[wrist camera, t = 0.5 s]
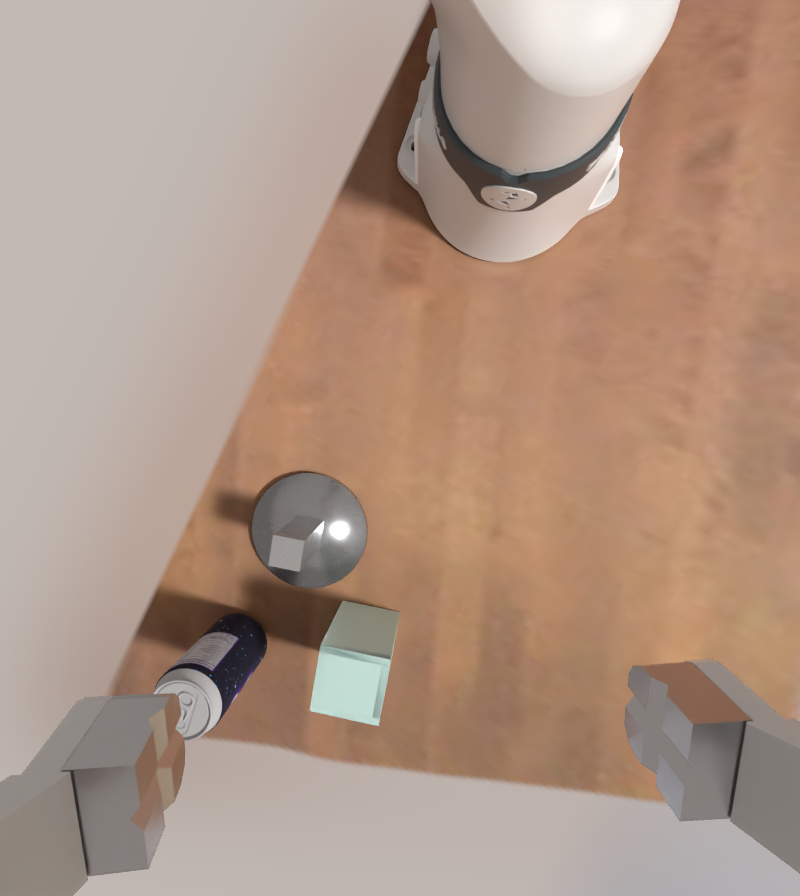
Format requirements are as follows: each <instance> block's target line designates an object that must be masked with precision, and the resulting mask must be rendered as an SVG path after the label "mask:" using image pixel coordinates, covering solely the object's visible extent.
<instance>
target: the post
mask: <svg viewBox="0 0 800 896" xmlns="http://www.w3.org/2000/svg"><path fill="white" fill-rule="evenodd" d="M252 536H253V542H254V545H255V548H256V551H257V553H258V555H259V557H260V559H261V560H262V562H263V563H264V565H265V566H266V567H267V568H268V569H269V570H270V571H271V572H272V573H273V574H274V575H275V576H277V577H278V578H280V579H281V580H283V581H285V582H287V583H289V584H292V585H295V586H299V587H305V588H318V587H324V586H328V585H331V584H333V583H336V582H337V581H339V580H341V579H343V578H344V577H345V576H347V575H348V574H349V573H350V572H351V571H352V570H353V569H354V567H355V566H356V565H357V563H358V562H359V560H360V558H361V556H362V554H363V552H364V549H365V546H366V542H367V522H366V517H365V514H364V511H363V508H362V506H361V504H360V502H359V501H358V499H357V498H356V496H355V495H354V494H353V493H352V492H351V491H350V490H349V489H348V488H347V487H346V486H345V485H344V484H342V483H341V482H339V481H337V480H336V479H334V478H332V477H329V476H327V475H323V474H319V473H299V474H294V475H291V476H288V477H286V478H284V479H281V480H280V481H278V482H276V483H275V484H274V485H272V486H271V487H270V488H269V489H268V490H267V491H266V492H265V493H264V494H263V496H262V497H261V499H260V500H259V502H258V504H257V506H256V509H255V512H254V515H253V520H252Z"/></svg>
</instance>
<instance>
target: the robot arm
mask: <svg viewBox="0 0 800 896" xmlns="http://www.w3.org/2000/svg"><path fill="white" fill-rule="evenodd" d="M430 1H431V3H432V5H433V7H434V10H435V14H436V21H437V28H435V29H434V30H433V32H432V35H431V38H430V42H429V46H428V52H427V63H429V65H430V68H429V70H428V73H427V76H426V79H425V80H423V81H422V83H421V86H420V89H419V95H418V101H417V104H416V106H415V109H414V112H413V115H412V118H411V120H410V123H409V126H408V129H407V131H406V134H405V137H404V140H403V142H402V145H401V148H400V151H399V154H398V159H397V167H398V170H399V172H400V174H401V175H402V177H403V178H404V179H405V180H406V181H407V182H408V183H409V184H410V185H411V186H412V187H413V188H414V189H415V190H416V191H417V192H418V193H419V194H420V196H421V198H422V200H423V202H424V204H425V206H426V209H427V211H428V214H429V216H430V218H431V220H432V222H433V223H434V225H435V226H436V228H437V229H438V231H439V232H440V233H441V234H442V236H443V237H444V238H445V239H446V240H447V241H448V242H450V243H451V244H452V245H453V246H454V247H456V248H457V249H459V250H460V251H462V252H464V253H466V254H468V255H470V256H472V257H475V258H478V259H481V260H485V261H491V262H513V261H519V260H523V259H527V258H530V257H533V256H535V255H538V254H540V253H542V252H544V251H545V250H547V249H549V248H550V247H552V246H553V245H554V244H556V243H557V242H558V241H559V240H561V239H562V238H563V237H564V236H565V235H566V234H567V233H568V232H569V230H570V229H571V228H572V227H573V226H574V225H575V224H576V223H577V222H578V221H579V220H581V219H582V218H583V217H585V216H587V215H590V214H592V213H594V212H596V211H598V210H600V209H602V208H604V207H606V206H607V205H609V204H610V203H611V202H612V201H613V199H614V198H615V196H616V194H617V192H618V188H619V160H620V158H621V155H622V152H623V148H622V147H621V146H620V145H619V144H620V128H621V126H622V124H623V121H624V119H625V116H626V113H627V111H628V108H629V105H630V102H631V99H632V96H633V92H634V90H635V88H636V87H637V85H638V83H639V82H640V80H641V78H642V77H643V75H644V74H645V72H646V70H647V69H648V67H649V66H650V64H651V62H652V61H653V59H654V58H655V56H656V54H657V53H658V51H659V49H660V48H661V46H662V44H663V43H664V41H665V39H666V37H667V35H668V33H669V31H670V29H671V27H672V24H673V22H674V19H675V16H676V13H677V10H678V7H679V4H680V0H430ZM413 146H414V151H412V150H411V148H412V147H413ZM628 686H629V688H630V689H631V691H632V692H633V694H634V695H635V696H634V697H633V698H632V699H631V700H630V702H629V703H628V704H627V705H626V707H625V728H626V733H627V738H628V741H629V743H630V746H631V748H632V750H633V752H634V754H635V756H636V757H637V759H638V760H639V762H640V763H641V764H642V765H643V766H645V767H646V768H648V769H649V770H651V771H653V772H654V773H656V774H657V780H656V787H657V788H658V790H659V791H660V793H661V794H662V796H663V797H664V799H665V800H666V802H667V803H668V805H669V806H670V807H671V809H672V810H673V812H674V813H675V815H676V816H677V818H678V819H679V821H693V820H711V819H730V818H731V820H730V821H731V822H732V823H733V824H735V825H736V826H737V827H739V828H740V829H741V830H743V831H744V832H745V833H747V834H748V835H749V836H751V837H752V838H754V839H755V840H756V841H757V842H759V843H760V844H761V845H763V846H764V847H765V848H767V849H768V850H769V851H771V852H772V853H773V854H775V855H776V856H777V857H779V858H780V859H781V860H783V861H784V862H785V863H787V864H788V865H789V866H791V867H792V868H793V869H795V870H796V871H797V872H799V873H800V722H799V721H797V720H795V719H784V718H782V717H781V716H780V715H779V714H778V713H777V712H776V711H775V710H773V709H772V708H771V707H770V706H769V705H768V704H767V703H765V702H764V701H763V700H762V699H761V698H760V697H759V696H757V695H756V694H755V693H754V692H753V691H752V690H751V689H750V688H748V687H747V686H746V685H745V684H744V683H743V682H742V681H740V680H739V679H738V678H737V677H736V676H735V675H734V674H732V673H731V672H730V671H729V670H728V669H727V668H726V667H725V666H723V665H722V664H721V663H720V662H718V661H715V660H713V659H702V660H692V661H685V662H679V663H664V664H650V665H635V666H633V667H632V669H631V671H630V673H629V679H628ZM180 716H181V708H180V701H179V697H178V696H177V695H176V694H175V693H168V694H142V695H116V696H100V697H85V698H83V699H81V700H79V701H77V703H76V704H75V705H74V706H73V708H72V709H71V710H70V711H69V713H68V714H67V715H66V717H65V718H64V719H63V721H62V722H61V723H60V725H59V726H58V727H57V729H56V730H55V731H54V733H53V734H52V735H51V737H50V738H49V739H48V740H47V742H46V743H45V744H44V746H43V747H42V748H41V750H40V751H39V752H38V754H37V755H36V756H35V757H34V759H33V760H32V761H31V763H30V764H29V766H28V767H27V768H26V769H25V771H24V772H23V773H22V774H21V775H13V776H9V777H8V778H6V779H5V780H3V781H2V782H0V896H73V895H74V894H75V893H76V892H77V891H78V890H79V889H80V888H81V887H82V886H83V885H84V883H86V881H87V880H88V877H87V876H94V875H103V874H111V873H120V872H128V871H136V870H144V869H149V867H150V864H151V861H152V859H153V856H154V854H155V851H156V849H157V846H158V843H159V841H160V838H161V835H162V833H163V831H164V828H165V823H164V814H163V811H164V810H165V809H167V808H168V807H169V806H170V805H171V804H172V803H173V802H174V801H175V799H176V796H177V793H178V791H179V788H180V785H181V781H182V776H183V770H184V765H185V744H184V737H183V736H182V735H181V734H180V733H179V732H178V731H177V730H176V725H177V723H178V721H179V719H180Z"/></svg>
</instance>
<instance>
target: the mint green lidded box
mask: <svg viewBox="0 0 800 896" xmlns="http://www.w3.org/2000/svg"><path fill="white" fill-rule="evenodd" d="M399 615H400V612H397V611H392V610H387V609H382V608H377V607H372V606H368V605H363V604H358V603H353V602H348V601H342V603H341V605H340V607H339V609H338V611H337V613H336V615H335V617H334V619H333V621H332V623H331V625H330V627H329V629H328V631H327V633H326V635H325V637H324V639H323V641H322V643H321V645H320V652H319V658H318V664H317V670H316V676H315V682H314V688H313V694H312V700H311V706H310V711H312V712H317V713H321V714H326V715H330V716H335V717H340V718H344V719H349V720H353V721H358V722H362V723H367V724H371V725H376V726H379V721H380V716H381V711H382V706H383V700H384V695H385V690H386V685H387V680H388V675H389V670H390V665H391V659H392V654H393V648H394V643H395V637H396V632H397V626H398V621H399Z"/></svg>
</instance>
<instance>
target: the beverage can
mask: <svg viewBox="0 0 800 896" xmlns="http://www.w3.org/2000/svg"><path fill="white" fill-rule="evenodd" d="M266 649H267V639H266V635H265V632H264V630H263V629H262V627H261V626H260V625H259V623H258V622H257V621H255V620H254V619H252V618H251V617H249V616H246V615H243V614H230V615H227V616H224V617H223V618H221V619H220V620H218V621H217V622H216V623H215V624H214V625H213V626H212V627H211V628H210V629H209V630H208V631H207V632H206V633H205V634H204V635H203V636H202V637H201V638H200V639H199V640H198V641H197V642H196V643H195V644H194V645H193V646H192V647H191V648H190V649H189V650H188V651H187V652H186V653H185V654H184V655H183V656H182V657H181V658H180V659H179V660H178V661H177V662H176V663H175V664H174V665H173V666H172V667H171V668H170V669H169V670H168V671H167V672H166V673H165V674H164V675H163V676H162V677H161V678H160V679H159V681H158V682H157V685H156V687H155V690H154V693H153V694H168V693H175V694H176V695H177V696H178V697H179V701H180V708H181V716H180V719H179V721H178V723H177V725H176V730H177V731H178V732H179V733H180V734H181V735H182V736H183V737H184V742H186V741H191V740H195V739H197V738H199V737H200V736H201V735H203V734H204V733H206V732H208V731H210V730H211V729H213V728H214V727H215V726H216V725H217V724H218V722H219V721H220V719H221V718H222V717H223V715H224V714H225V712H226V711H227V709H228V708H229V706H230V705H231V704H232V702H233V701H234V699H235V698H236V696H237V695H238V693H239V692H240V691H241V689H242V688H243V686H244V685H245V683H246V682H247V680H248V679H249V678H250V676H251V675H252V673H253V672H254V670H255V669H256V667H257V666H258V665H259V663H260V662H261V660H262V659H263V657H264V655H265V653H266Z"/></svg>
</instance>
